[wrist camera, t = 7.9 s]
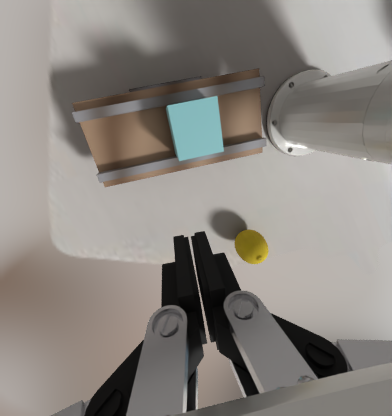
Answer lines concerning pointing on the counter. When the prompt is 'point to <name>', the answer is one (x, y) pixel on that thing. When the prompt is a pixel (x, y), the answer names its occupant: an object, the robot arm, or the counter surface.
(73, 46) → the counter surface
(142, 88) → the wooden tray
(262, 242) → the lemon
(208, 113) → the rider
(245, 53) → the counter surface
